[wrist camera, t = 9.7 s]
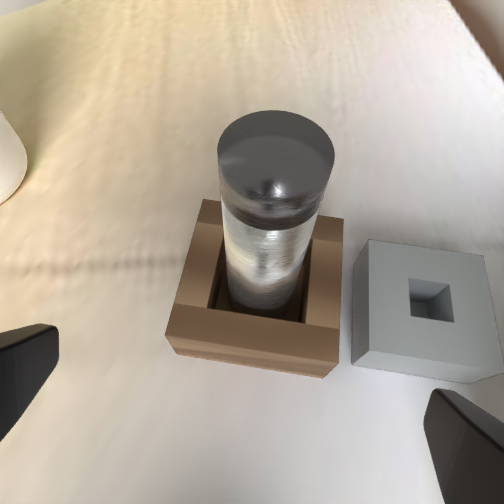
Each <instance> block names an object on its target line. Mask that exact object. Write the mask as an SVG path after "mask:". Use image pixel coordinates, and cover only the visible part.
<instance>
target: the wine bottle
mask: <svg viewBox="0 0 504 504" xmlns="http://www.w3.org/2000/svg"><path fill="white" fill-rule="evenodd" d="M26 170H27V155H26V150H25V148H24V145H23V143H22V141H21V140H20V138H19V137H18V135H17V134H16V132H15V131H14V130H13V128H12V127H11V125H10V124H9V122H8V121H7V120H6V118H5V117H4V115H3V114H2V112H1V111H0V204H1V203H3V202H4V201H5V200H7V199H8V198H9V197H10V196H11V195H12V194H13V193H14V192H15V191H16V189H17V188H18V187H19V186H20V184H21V182H22V180H23V178H24V176H25V173H26Z"/></svg>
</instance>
